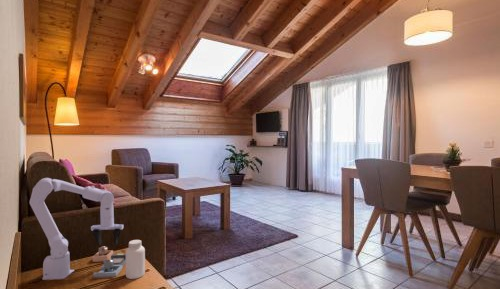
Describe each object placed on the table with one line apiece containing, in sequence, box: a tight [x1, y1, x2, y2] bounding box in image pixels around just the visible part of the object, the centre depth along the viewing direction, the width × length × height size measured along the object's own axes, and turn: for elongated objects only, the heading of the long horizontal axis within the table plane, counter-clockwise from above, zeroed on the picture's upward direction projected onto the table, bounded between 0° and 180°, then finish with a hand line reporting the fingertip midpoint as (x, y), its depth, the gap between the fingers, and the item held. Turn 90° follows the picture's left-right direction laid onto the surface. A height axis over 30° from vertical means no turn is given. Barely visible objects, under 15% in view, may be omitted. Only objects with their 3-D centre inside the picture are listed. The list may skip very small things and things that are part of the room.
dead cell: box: [98, 245, 109, 256], centre depth 143 cm, size 4×4×6 cm
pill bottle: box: [125, 239, 146, 280], centre depth 126 cm, size 8×8×15 cm
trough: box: [92, 265, 124, 279], centre depth 128 cm, size 10×8×2 cm
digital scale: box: [110, 253, 126, 267], centre depth 137 cm, size 10×8×3 cm
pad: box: [113, 258, 124, 264], centre depth 137 cm, size 5×5×1 cm
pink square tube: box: [92, 249, 114, 263], centre depth 143 cm, size 7×7×3 cm
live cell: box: [103, 258, 114, 272], centre depth 128 cm, size 4×4×6 cm
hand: (107, 244), depth 137 cm, fingers open, 7 cm apart
